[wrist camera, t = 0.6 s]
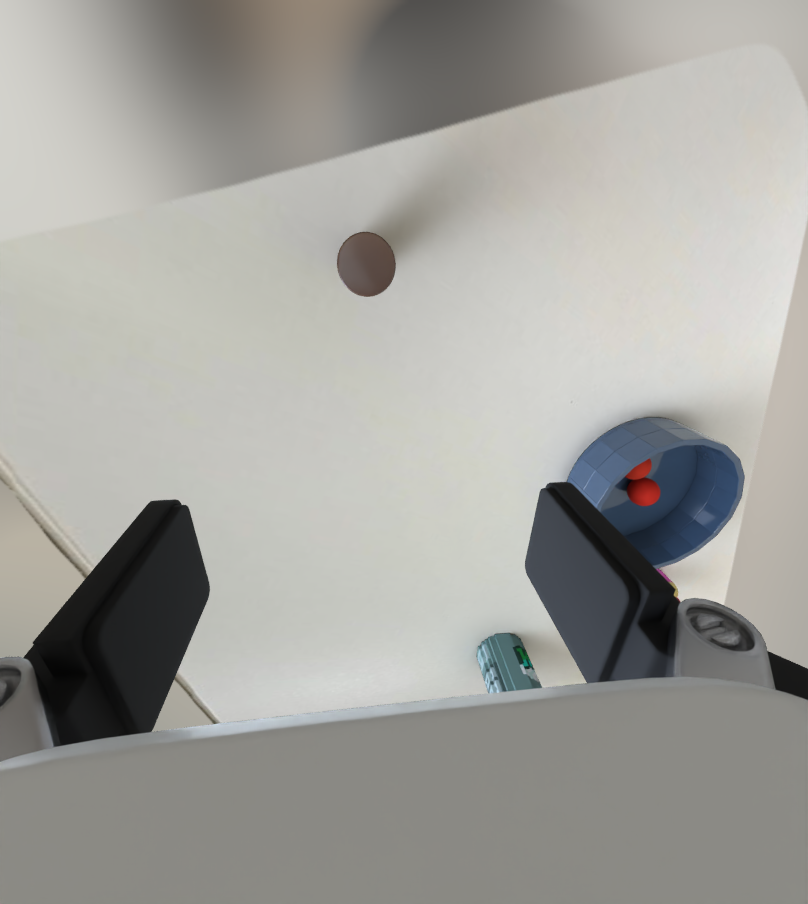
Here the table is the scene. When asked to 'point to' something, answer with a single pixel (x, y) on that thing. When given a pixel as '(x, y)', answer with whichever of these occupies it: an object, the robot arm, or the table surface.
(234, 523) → the table surface
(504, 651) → the can
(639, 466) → the tomato
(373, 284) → the stick
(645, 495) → the tomato
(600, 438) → the bowl
